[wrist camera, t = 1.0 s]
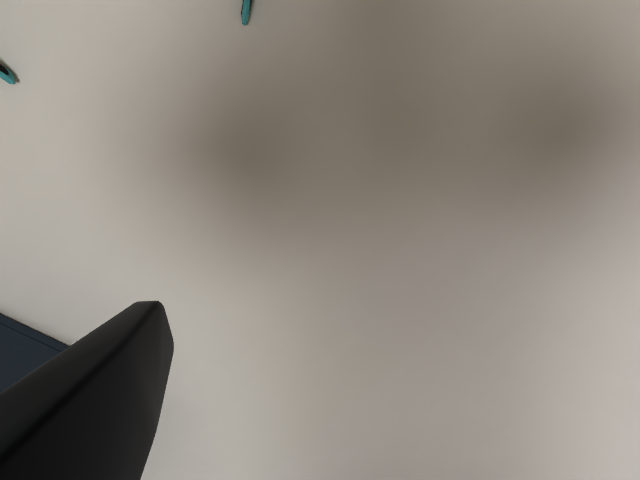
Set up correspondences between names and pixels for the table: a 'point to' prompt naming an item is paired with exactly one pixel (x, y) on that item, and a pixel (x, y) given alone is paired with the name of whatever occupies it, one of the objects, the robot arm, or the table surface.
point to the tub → (23, 351)
